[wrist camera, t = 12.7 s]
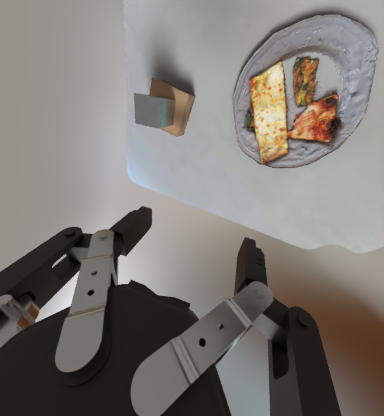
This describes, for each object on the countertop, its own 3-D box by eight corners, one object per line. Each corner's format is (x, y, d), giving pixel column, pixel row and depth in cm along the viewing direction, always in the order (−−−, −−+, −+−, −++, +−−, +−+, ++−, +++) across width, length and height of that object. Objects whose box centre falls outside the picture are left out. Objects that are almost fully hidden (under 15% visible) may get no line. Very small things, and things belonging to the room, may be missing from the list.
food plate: (352, 157, 34) (361, 160, 31) (241, 172, 43) (240, 176, 40) (382, -9, 24) (400, -27, 21) (229, 57, 33) (226, 51, 30)
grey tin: (155, 96, 36) (134, 92, 29) (175, 100, 35) (158, 97, 28) (154, 121, 38) (135, 123, 32) (173, 125, 38) (157, 128, 31)
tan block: (162, 81, 38) (152, 77, 34) (195, 96, 38) (188, 94, 34) (155, 120, 43) (145, 121, 39) (183, 134, 43) (176, 136, 39)
